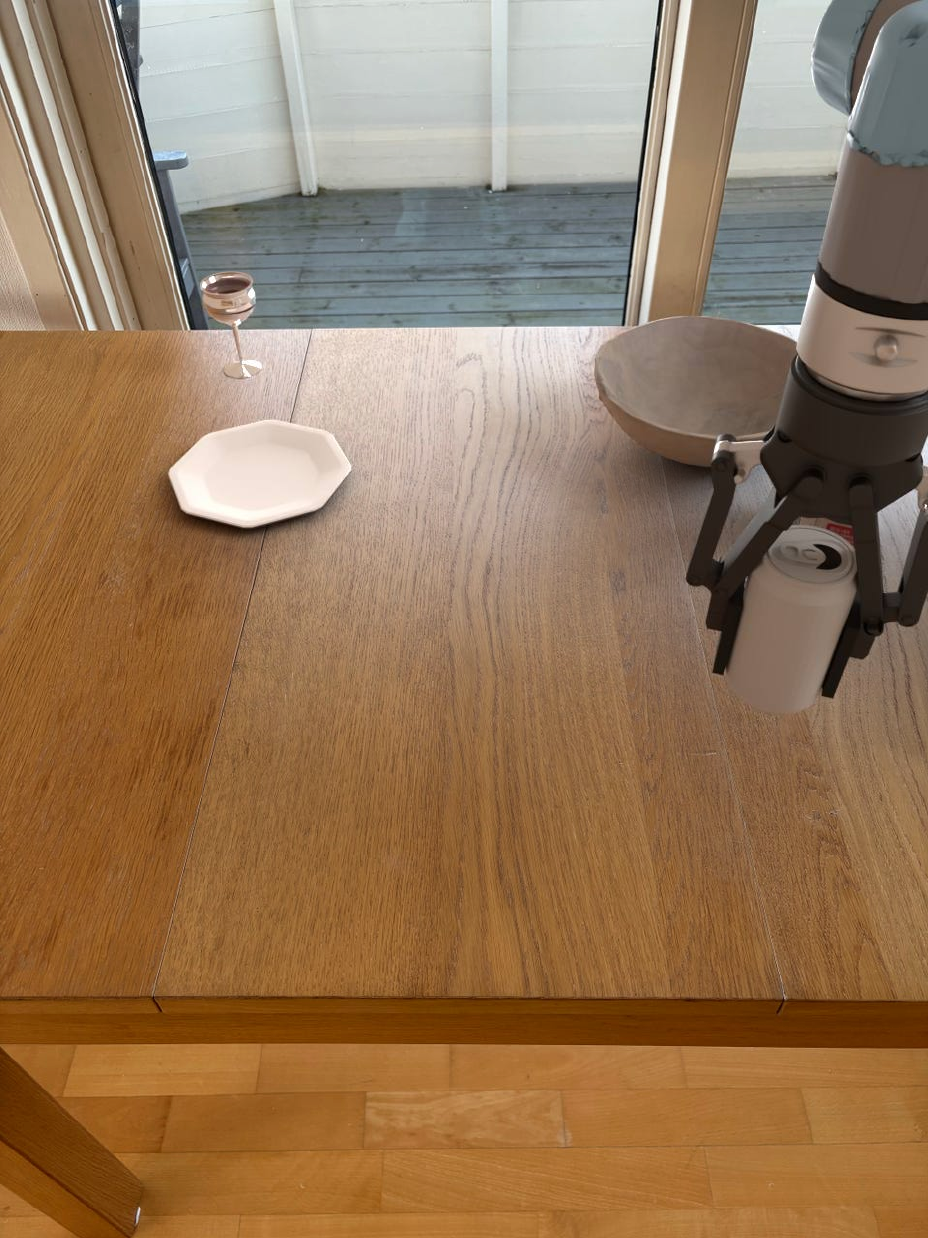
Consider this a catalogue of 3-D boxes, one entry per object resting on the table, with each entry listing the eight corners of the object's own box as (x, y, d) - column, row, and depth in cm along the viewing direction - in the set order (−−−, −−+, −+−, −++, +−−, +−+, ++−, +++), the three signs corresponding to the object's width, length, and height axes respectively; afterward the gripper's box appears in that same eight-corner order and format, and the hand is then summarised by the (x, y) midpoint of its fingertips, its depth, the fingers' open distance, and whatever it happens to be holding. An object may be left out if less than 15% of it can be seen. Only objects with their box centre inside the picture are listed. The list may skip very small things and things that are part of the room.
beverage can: (822, 727, 62) (873, 594, 54) (722, 715, 63) (758, 583, 55) (813, 657, 67) (860, 524, 58) (720, 647, 68) (753, 514, 59)
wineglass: (207, 367, 128) (188, 282, 120) (249, 350, 131) (234, 266, 123) (235, 387, 125) (217, 300, 116) (277, 368, 128) (264, 283, 119)
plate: (196, 552, 101) (193, 541, 100) (159, 455, 114) (156, 444, 113) (370, 505, 106) (369, 494, 105) (317, 417, 119) (315, 407, 118)
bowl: (853, 488, 108) (879, 412, 101) (634, 525, 104) (645, 448, 97) (750, 373, 126) (766, 302, 119) (560, 400, 122) (565, 327, 115)
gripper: (666, 374, 48) (621, 680, 64) (1091, 435, 43) (927, 747, 59) (688, 307, 53) (641, 605, 69) (1071, 355, 48) (924, 662, 64)
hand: (773, 670), depth 64 cm, fingers closed on beverage can, 6 cm apart
